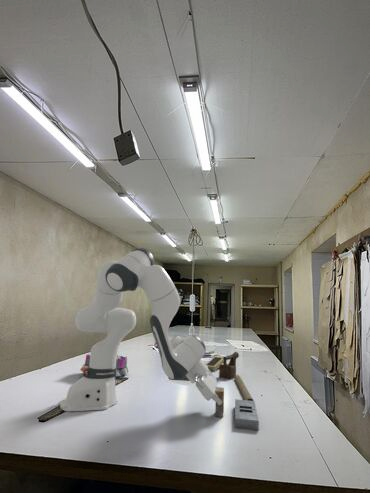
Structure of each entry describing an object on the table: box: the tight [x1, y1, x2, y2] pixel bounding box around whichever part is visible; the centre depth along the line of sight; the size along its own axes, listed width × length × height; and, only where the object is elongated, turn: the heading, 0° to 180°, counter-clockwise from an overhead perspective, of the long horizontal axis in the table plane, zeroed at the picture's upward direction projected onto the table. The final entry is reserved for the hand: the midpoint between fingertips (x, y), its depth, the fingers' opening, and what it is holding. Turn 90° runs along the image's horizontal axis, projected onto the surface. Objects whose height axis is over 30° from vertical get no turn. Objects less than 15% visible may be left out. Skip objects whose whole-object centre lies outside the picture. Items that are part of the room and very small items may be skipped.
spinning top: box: [79, 353, 129, 377], centre depth 170 cm, size 27×28×15 cm
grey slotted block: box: [234, 399, 260, 431], centre depth 115 cm, size 8×22×3 cm, turn 171°
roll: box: [233, 374, 255, 401], centre depth 151 cm, size 4×43×3 cm, turn 178°
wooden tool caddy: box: [218, 351, 240, 380], centre depth 181 cm, size 8×16×13 cm, turn 143°
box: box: [205, 356, 224, 373], centre depth 199 cm, size 8×22×5 cm, turn 154°
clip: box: [214, 386, 225, 418], centre depth 117 cm, size 3×6×9 cm, turn 171°
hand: (221, 400), depth 117 cm, fingers closed on clip, 6 cm apart
